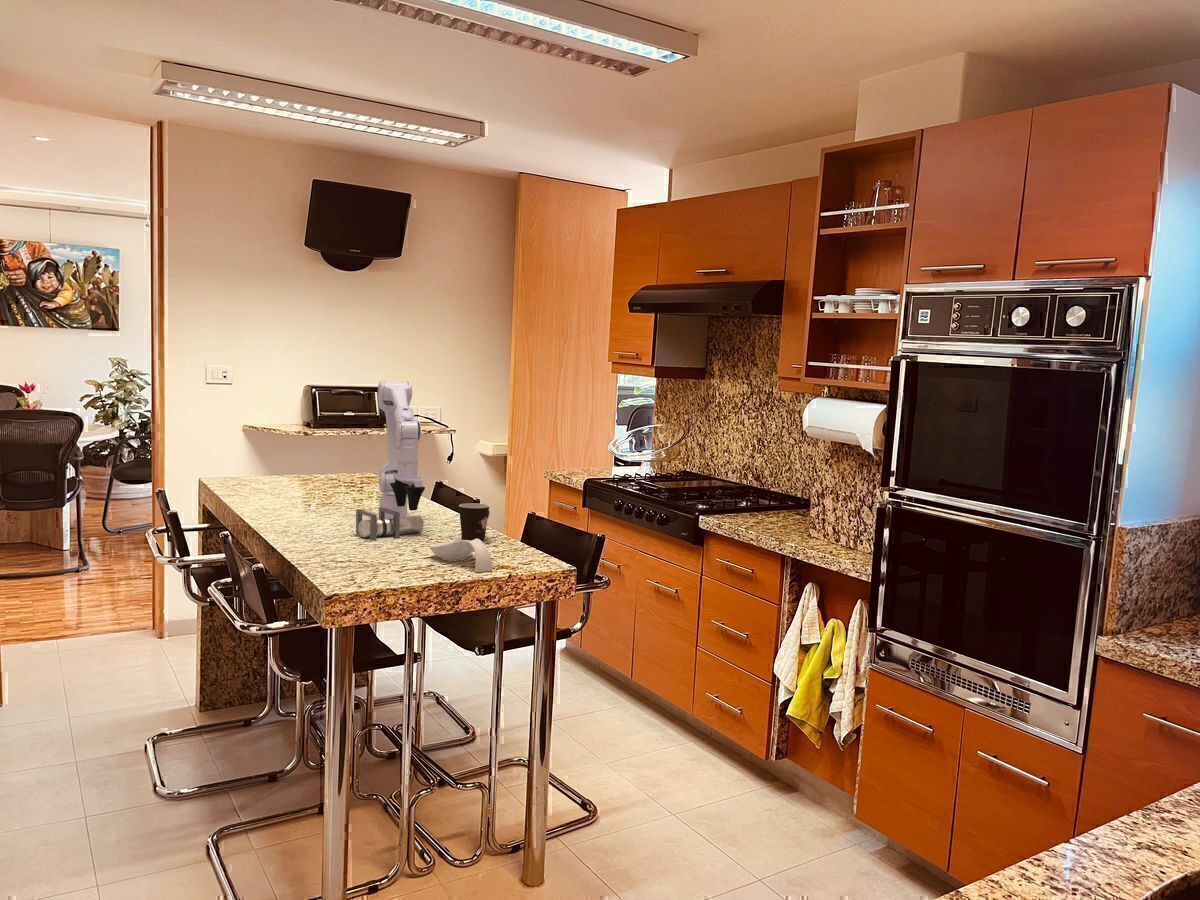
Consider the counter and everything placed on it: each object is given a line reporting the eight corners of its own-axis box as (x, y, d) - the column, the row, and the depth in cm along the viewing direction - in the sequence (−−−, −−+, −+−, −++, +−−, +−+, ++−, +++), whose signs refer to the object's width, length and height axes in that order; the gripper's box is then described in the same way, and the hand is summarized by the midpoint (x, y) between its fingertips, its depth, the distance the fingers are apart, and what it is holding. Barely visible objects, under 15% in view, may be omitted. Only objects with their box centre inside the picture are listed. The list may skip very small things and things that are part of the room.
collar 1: (355, 534, 259) (356, 509, 259) (359, 533, 260) (360, 508, 259) (372, 540, 251) (372, 515, 250) (376, 540, 252) (376, 514, 251)
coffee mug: (468, 544, 251) (469, 509, 250) (452, 539, 258) (453, 504, 257) (503, 540, 258) (504, 506, 257) (486, 535, 265) (487, 501, 264)
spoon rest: (422, 556, 235) (422, 529, 234) (462, 552, 241) (463, 526, 241) (464, 575, 216) (464, 546, 215) (506, 570, 222) (507, 542, 222)
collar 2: (378, 532, 264) (378, 507, 263) (382, 531, 264) (382, 507, 264) (395, 538, 255) (395, 513, 255) (399, 538, 256) (399, 512, 255)
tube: (364, 541, 253) (366, 524, 251) (357, 533, 257) (359, 517, 255) (422, 535, 264) (424, 519, 263) (414, 528, 268) (416, 512, 266)
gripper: (432, 464, 258) (431, 511, 260) (408, 458, 270) (407, 503, 271) (409, 465, 254) (409, 512, 255) (387, 459, 265) (386, 505, 267)
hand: (407, 508), depth 263 cm, fingers open, 7 cm apart
